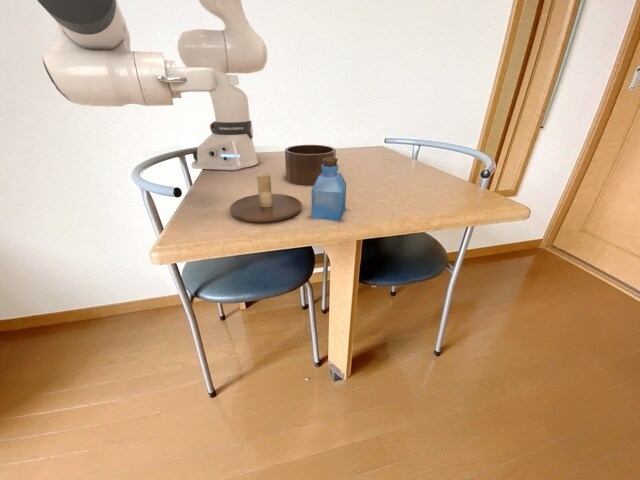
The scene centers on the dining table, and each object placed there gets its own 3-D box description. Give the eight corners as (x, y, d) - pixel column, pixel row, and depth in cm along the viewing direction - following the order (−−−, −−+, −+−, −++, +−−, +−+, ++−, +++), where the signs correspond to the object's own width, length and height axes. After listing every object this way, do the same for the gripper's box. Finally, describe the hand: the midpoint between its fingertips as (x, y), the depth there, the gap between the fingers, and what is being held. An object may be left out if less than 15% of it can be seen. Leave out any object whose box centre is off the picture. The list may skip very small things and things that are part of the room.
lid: (215, 215, 65) (208, 178, 61) (261, 194, 77) (258, 162, 73) (273, 231, 58) (270, 190, 54) (314, 205, 70) (313, 171, 66)
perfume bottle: (345, 209, 68) (347, 156, 62) (340, 220, 62) (342, 163, 57) (318, 207, 69) (318, 155, 63) (311, 217, 64) (311, 161, 58)
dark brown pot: (285, 185, 83) (284, 155, 79) (287, 171, 96) (286, 144, 92) (337, 185, 84) (338, 154, 80) (332, 171, 97) (332, 144, 93)
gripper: (150, 56, 46) (241, 58, 50) (156, 62, 62) (224, 64, 67) (161, 101, 49) (245, 99, 53) (163, 96, 65) (228, 95, 70)
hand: (233, 80), depth 60 cm, fingers open, 8 cm apart
